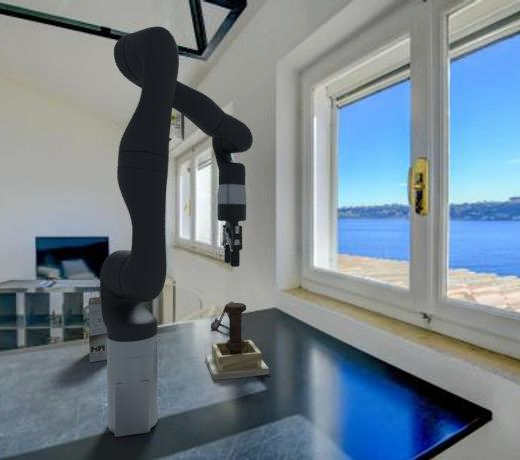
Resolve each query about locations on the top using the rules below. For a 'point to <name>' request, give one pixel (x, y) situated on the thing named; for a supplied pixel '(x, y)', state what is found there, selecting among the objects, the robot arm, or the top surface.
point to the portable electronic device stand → (217, 322)
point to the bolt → (235, 327)
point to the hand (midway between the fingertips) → (231, 264)
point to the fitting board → (235, 362)
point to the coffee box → (97, 331)
